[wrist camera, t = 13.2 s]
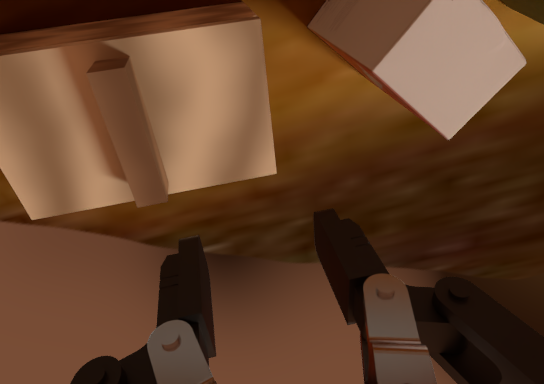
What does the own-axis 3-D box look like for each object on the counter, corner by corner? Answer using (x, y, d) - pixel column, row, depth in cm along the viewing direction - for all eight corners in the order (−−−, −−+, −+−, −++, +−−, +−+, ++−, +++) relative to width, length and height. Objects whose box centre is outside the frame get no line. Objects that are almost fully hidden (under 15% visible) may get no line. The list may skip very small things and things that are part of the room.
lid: (36, 211, 27) (19, 243, 24) (-53, 60, 21) (-90, 78, 18) (274, 167, 29) (283, 191, 26) (257, 16, 23) (268, 26, 20)
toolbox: (62, 164, 33) (37, 209, 28) (-2, 34, 27) (-50, 58, 21) (258, 130, 35) (273, 165, 29) (242, 1, 29) (256, 15, 23)
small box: (304, 27, 31) (368, 71, 20) (356, -45, 29) (459, -38, 18) (368, 81, 35) (450, 143, 24) (418, 22, 32) (532, 60, 22)
